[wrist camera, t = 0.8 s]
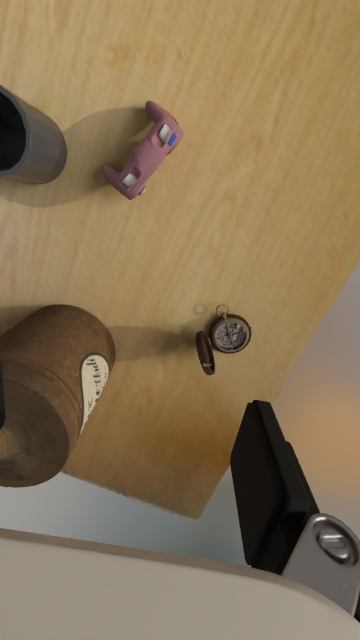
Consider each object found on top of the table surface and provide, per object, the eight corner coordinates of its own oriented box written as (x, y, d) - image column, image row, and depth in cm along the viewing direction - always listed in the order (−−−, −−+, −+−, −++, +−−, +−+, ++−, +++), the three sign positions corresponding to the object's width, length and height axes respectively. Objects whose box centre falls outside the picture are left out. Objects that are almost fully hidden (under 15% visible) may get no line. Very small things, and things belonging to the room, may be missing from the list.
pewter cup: (-8, 116, 34) (-69, 88, 26) (55, 103, 33) (12, 70, 25) (16, 188, 36) (-32, 183, 29) (74, 177, 36) (41, 169, 28)
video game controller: (126, 194, 38) (136, 211, 33) (96, 169, 35) (103, 184, 30) (176, 128, 35) (196, 136, 30) (148, 95, 32) (165, 97, 27)
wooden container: (90, 403, 48) (18, 546, 28) (8, 360, 46) (-139, 483, 25) (133, 336, 44) (82, 450, 23) (43, 284, 41) (-103, 361, 21)
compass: (255, 344, 43) (267, 369, 36) (205, 358, 44) (208, 385, 38) (241, 295, 41) (251, 313, 34) (188, 312, 42) (188, 332, 35)
